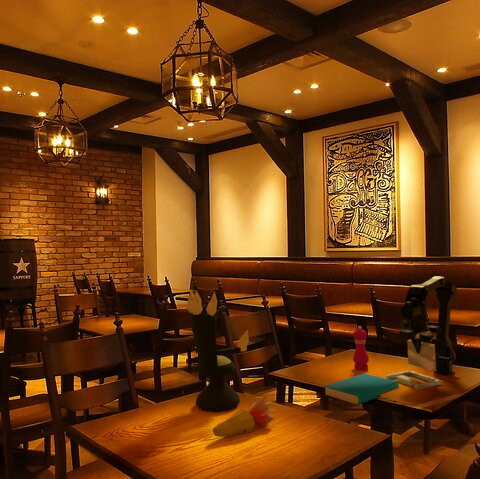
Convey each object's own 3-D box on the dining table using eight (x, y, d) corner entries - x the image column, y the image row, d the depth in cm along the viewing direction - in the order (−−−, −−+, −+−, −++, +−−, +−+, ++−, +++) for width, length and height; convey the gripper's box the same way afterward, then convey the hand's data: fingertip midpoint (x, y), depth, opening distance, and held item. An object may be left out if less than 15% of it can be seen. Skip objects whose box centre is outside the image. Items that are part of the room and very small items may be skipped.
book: (324, 385, 192) (364, 372, 207) (324, 396, 192) (364, 382, 207) (359, 395, 178) (398, 380, 194) (359, 407, 178) (399, 391, 194)
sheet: (413, 362, 208) (412, 339, 208) (435, 369, 197) (434, 344, 197) (408, 363, 207) (407, 340, 206) (430, 370, 196) (429, 345, 196)
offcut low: (401, 383, 203) (401, 379, 203) (420, 390, 194) (419, 385, 194) (394, 385, 202) (394, 380, 202) (412, 392, 193) (412, 387, 193)
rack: (409, 377, 210) (409, 370, 210) (441, 387, 194) (441, 380, 194) (386, 382, 204) (386, 375, 204) (417, 393, 189) (416, 385, 189)
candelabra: (252, 402, 186) (248, 285, 186) (218, 421, 167) (214, 291, 167) (213, 394, 196) (209, 284, 196) (177, 412, 177) (172, 289, 177)
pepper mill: (371, 367, 228) (369, 325, 228) (366, 371, 222) (364, 327, 222) (356, 365, 232) (354, 324, 232) (351, 369, 226) (349, 326, 226)
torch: (215, 452, 152) (271, 420, 168) (227, 447, 146) (284, 415, 162) (204, 426, 154) (261, 397, 170) (216, 421, 148) (273, 391, 164)
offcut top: (402, 379, 202) (402, 375, 202) (417, 384, 195) (417, 379, 195) (396, 381, 201) (396, 376, 201) (411, 386, 194) (411, 381, 194)
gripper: (421, 310, 213) (423, 345, 213) (388, 315, 205) (390, 352, 205) (441, 313, 203) (443, 351, 203) (407, 319, 195) (409, 357, 195)
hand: (421, 352), depth 202 cm, fingers closed on sheet, 3 cm apart
